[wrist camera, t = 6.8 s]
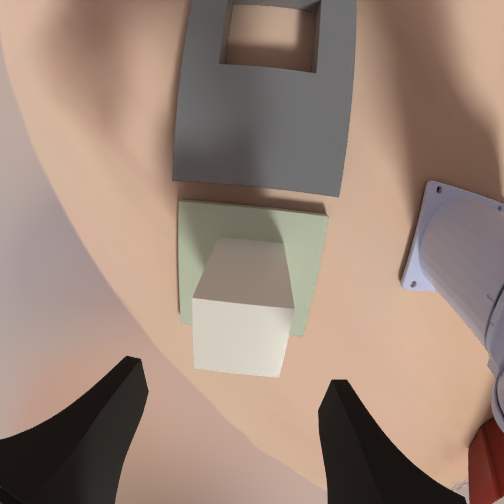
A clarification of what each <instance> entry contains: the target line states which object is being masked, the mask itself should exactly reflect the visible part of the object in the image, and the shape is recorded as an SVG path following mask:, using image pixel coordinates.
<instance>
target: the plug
mask: <svg viewBox="0 0 504 504" xmlns="http://www.w3.org/2000/svg"><path fill="white" fill-rule="evenodd" d="M294 310H295V308H294V301H293V295H292V288H291V282H290V276H289V270H288V264H287V258H286V252H285V246H284V243H274V242H265V241H256V240H246V239H236V238H227V237H218V239H217V241H216V243H215V245H214V248H213V250H212V252H211V255H210V257H209V259H208V262H207V264H206V266H205V269H204V271H203V273H202V276H201V278H200V280H199V283H198V285H197V287H196V290H195V292H194V295H193V297H192V320H193V352H194V368H197V369H204V370H211V371H218V372H227V373H235V374H245V375H256V376H268V377H279V376H280V372H281V367H282V363H283V359H284V355H285V350H286V346H287V342H288V337H289V333H290V328H291V324H292V319H293V314H294Z"/></svg>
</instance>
